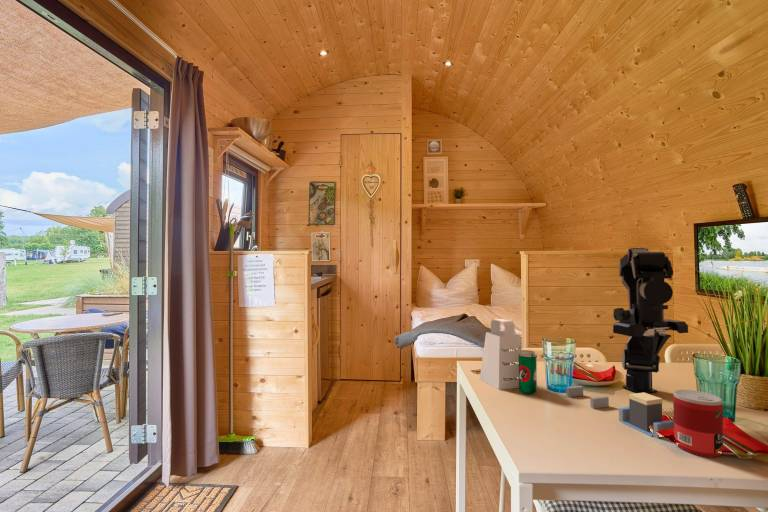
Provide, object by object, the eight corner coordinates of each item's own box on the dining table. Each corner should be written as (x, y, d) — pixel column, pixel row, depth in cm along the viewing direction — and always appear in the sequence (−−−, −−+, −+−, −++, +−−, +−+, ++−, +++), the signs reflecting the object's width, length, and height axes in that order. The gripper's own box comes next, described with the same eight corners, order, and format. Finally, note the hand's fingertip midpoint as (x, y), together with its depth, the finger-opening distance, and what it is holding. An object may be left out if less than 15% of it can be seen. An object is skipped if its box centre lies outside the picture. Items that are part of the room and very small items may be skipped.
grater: (506, 376, 132) (506, 317, 133) (527, 386, 123) (526, 321, 123) (479, 379, 129) (479, 318, 129) (498, 389, 119) (498, 323, 119)
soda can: (538, 395, 114) (537, 354, 114) (520, 394, 115) (519, 353, 115) (535, 389, 119) (534, 350, 119) (517, 388, 120) (517, 349, 120)
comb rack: (582, 394, 115) (581, 383, 115) (676, 435, 88) (676, 421, 88) (564, 396, 113) (564, 385, 113) (655, 438, 86) (655, 424, 86)
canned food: (727, 462, 76) (726, 404, 76) (675, 451, 80) (675, 397, 80) (719, 446, 83) (718, 393, 83) (672, 437, 87) (671, 387, 87)
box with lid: (644, 421, 95) (644, 392, 95) (662, 429, 90) (662, 398, 90) (629, 423, 93) (628, 394, 94) (646, 431, 89) (646, 400, 89)
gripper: (649, 296, 112) (650, 351, 112) (595, 298, 107) (596, 356, 107) (689, 300, 101) (690, 361, 101) (631, 302, 96) (632, 367, 96)
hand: (650, 361), depth 101 cm, fingers closed
